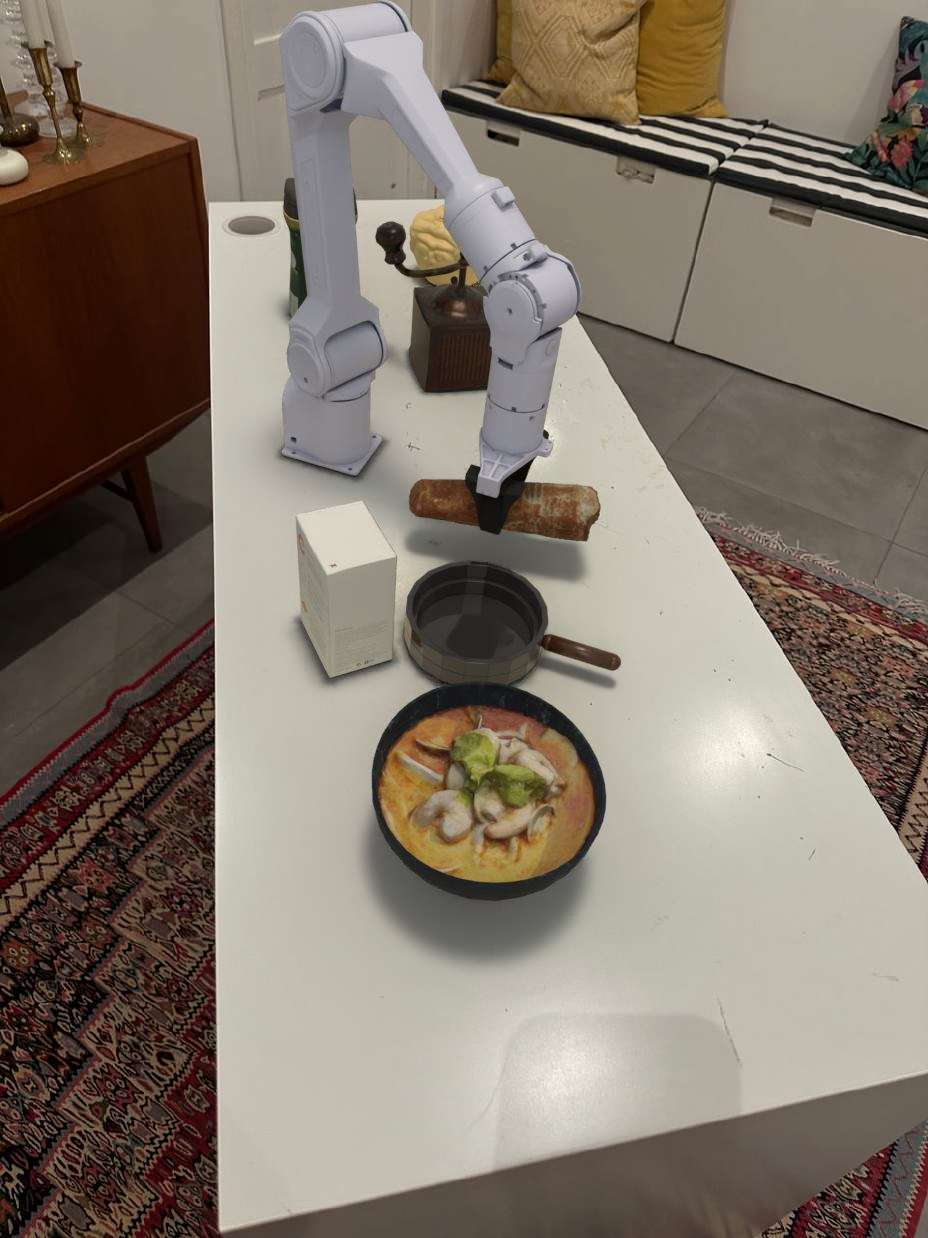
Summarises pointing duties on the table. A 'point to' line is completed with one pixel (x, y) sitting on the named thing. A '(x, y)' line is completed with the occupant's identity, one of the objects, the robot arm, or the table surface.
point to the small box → (346, 587)
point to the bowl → (487, 790)
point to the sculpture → (435, 246)
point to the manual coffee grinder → (443, 323)
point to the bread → (514, 507)
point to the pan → (475, 623)
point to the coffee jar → (297, 247)
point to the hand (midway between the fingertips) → (499, 511)
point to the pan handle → (581, 652)
